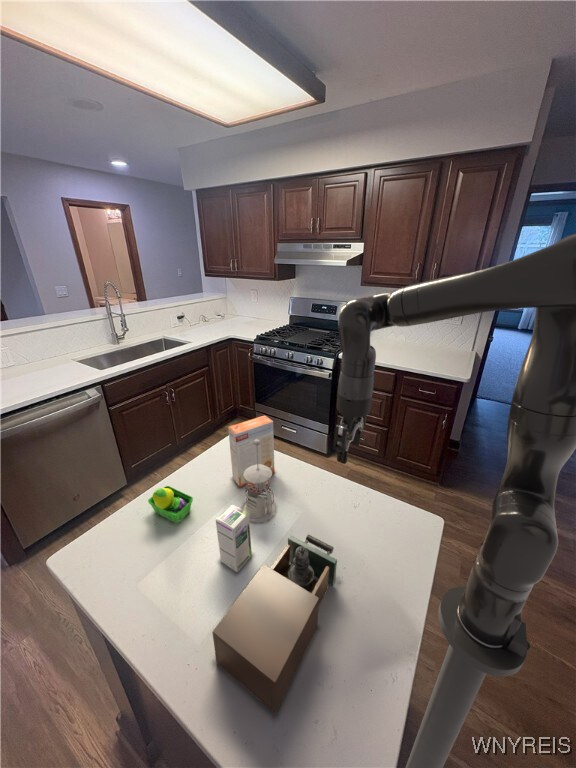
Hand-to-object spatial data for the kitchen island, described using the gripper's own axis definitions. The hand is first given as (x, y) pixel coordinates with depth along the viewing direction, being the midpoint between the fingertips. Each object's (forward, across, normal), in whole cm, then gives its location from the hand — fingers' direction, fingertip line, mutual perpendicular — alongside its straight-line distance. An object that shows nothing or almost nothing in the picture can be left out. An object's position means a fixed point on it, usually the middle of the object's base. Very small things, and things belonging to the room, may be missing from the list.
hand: (348, 452), depth 75 cm
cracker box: (+28, -8, -36) cm, 46 cm away
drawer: (+27, +18, -2) cm, 33 cm away
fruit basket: (+28, +19, -46) cm, 57 cm away
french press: (+28, +4, -24) cm, 37 cm away
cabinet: (+28, +31, -2) cm, 42 cm away
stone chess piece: (+26, +18, -2) cm, 32 cm away
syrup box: (+28, +20, -20) cm, 40 cm away
